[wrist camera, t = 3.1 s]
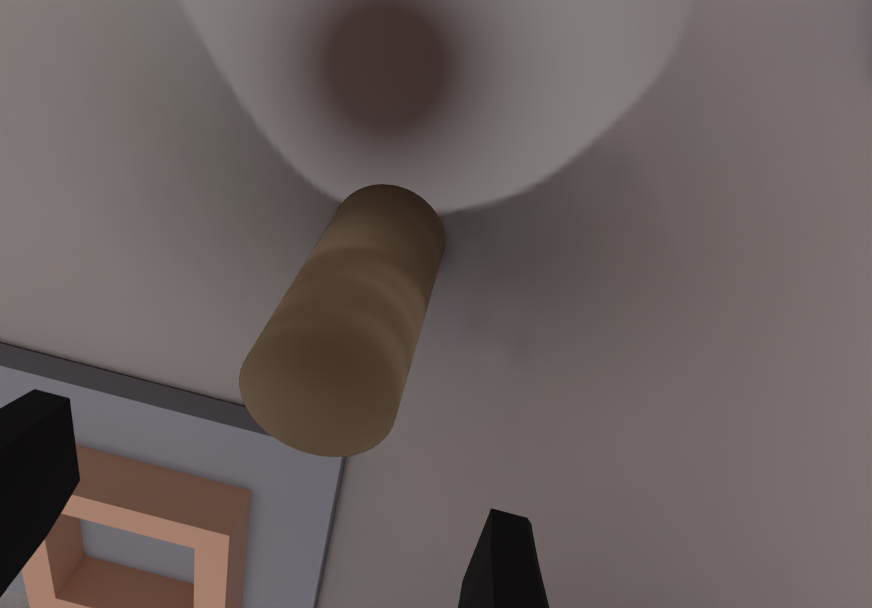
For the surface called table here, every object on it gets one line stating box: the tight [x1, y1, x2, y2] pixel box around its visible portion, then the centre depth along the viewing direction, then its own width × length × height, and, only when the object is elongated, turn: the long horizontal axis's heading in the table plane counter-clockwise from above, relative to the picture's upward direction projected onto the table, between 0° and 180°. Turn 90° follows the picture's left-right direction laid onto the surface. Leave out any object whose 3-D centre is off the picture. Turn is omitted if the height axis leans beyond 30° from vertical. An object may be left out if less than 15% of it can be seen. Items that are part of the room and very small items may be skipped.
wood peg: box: [239, 184, 444, 457], centre depth 16 cm, size 3×3×7 cm
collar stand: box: [0, 343, 345, 608], centre depth 26 cm, size 14×14×3 cm
